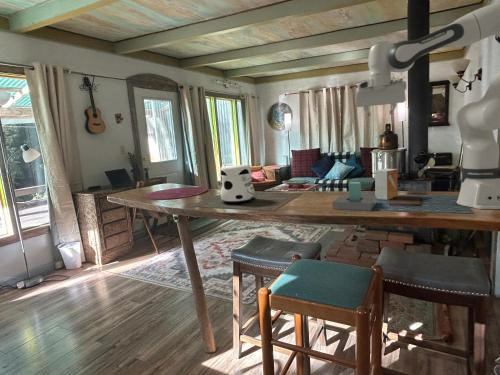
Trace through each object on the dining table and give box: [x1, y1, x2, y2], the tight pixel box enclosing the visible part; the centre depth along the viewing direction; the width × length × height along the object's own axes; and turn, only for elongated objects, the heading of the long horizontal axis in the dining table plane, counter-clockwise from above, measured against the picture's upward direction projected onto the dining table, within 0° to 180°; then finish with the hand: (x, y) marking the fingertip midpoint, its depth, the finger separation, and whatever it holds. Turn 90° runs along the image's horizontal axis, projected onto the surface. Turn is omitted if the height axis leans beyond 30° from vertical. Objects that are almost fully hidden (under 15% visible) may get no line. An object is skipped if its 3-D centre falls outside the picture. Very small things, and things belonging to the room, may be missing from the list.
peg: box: [348, 181, 362, 201], centre depth 135 cm, size 4×4×10 cm
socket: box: [331, 194, 378, 212], centre depth 136 cm, size 15×15×3 cm
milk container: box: [219, 164, 255, 204], centre depth 163 cm, size 17×17×18 cm
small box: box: [374, 168, 399, 201], centre depth 146 cm, size 8×6×13 cm
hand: (379, 115), depth 140 cm, fingers open, 8 cm apart
